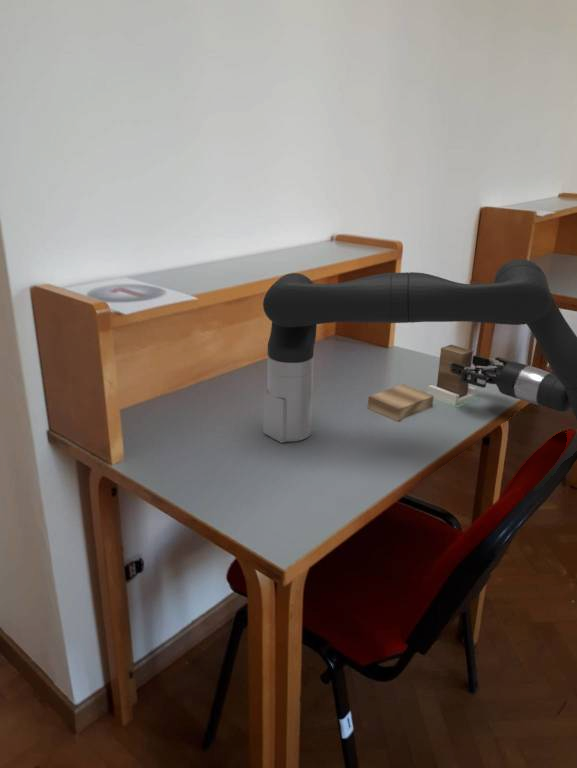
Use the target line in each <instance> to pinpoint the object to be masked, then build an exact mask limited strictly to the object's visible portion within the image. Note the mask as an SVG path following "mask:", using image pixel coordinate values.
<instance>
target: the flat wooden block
mask: <svg viewBox="0 0 577 768" xmlns="http://www.w3.org/2000/svg"><path fill="white" fill-rule="evenodd" d="M433 403H434V399H433V396H432V395H430V394H427V392H424V391H422V390H419V389H416V388H414V387H412V386H409V385H406V384H403V383H402V384H400V385H397V386H395V387H391V388H389V389H386V390H383V391H380V392H377V393H374V394H371V395H368V403H367V409H369V410H370V411H373V412H375V413H376V414H379V415H381V416H384V417H386V418H389V419H391V420H394V421H396V422H400V421H402V419H405V418H406V417H409V416H412V415H414V414H416V413H419V412H422V411H425V410H427V409H430V408H432V407H433Z"/></svg>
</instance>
